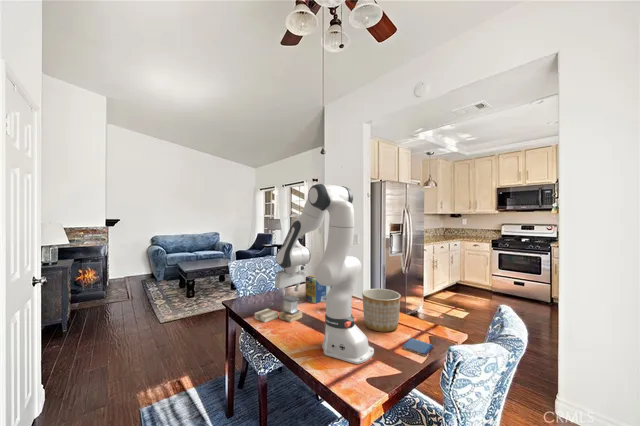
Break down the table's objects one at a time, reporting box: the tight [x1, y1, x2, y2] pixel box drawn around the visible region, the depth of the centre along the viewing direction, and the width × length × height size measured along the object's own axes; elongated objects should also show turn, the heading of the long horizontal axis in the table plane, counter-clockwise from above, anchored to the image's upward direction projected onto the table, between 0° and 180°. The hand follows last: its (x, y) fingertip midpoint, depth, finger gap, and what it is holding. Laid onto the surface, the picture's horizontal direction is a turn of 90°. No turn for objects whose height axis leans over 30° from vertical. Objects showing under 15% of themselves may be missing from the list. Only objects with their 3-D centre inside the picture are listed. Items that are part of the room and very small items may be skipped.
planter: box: [361, 288, 402, 333], centre depth 141 cm, size 19×19×16 cm
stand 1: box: [254, 308, 279, 323], centre depth 151 cm, size 9×9×3 cm
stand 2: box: [278, 310, 303, 323], centre depth 151 cm, size 9×9×3 cm
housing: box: [281, 295, 300, 315], centre depth 151 cm, size 8×5×8 cm, turn 50°
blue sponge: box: [401, 337, 435, 357], centre depth 118 cm, size 10×11×2 cm
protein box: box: [305, 274, 332, 305], centre depth 182 cm, size 10×15×16 cm
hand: (290, 292), depth 151 cm, fingers open, 8 cm apart
